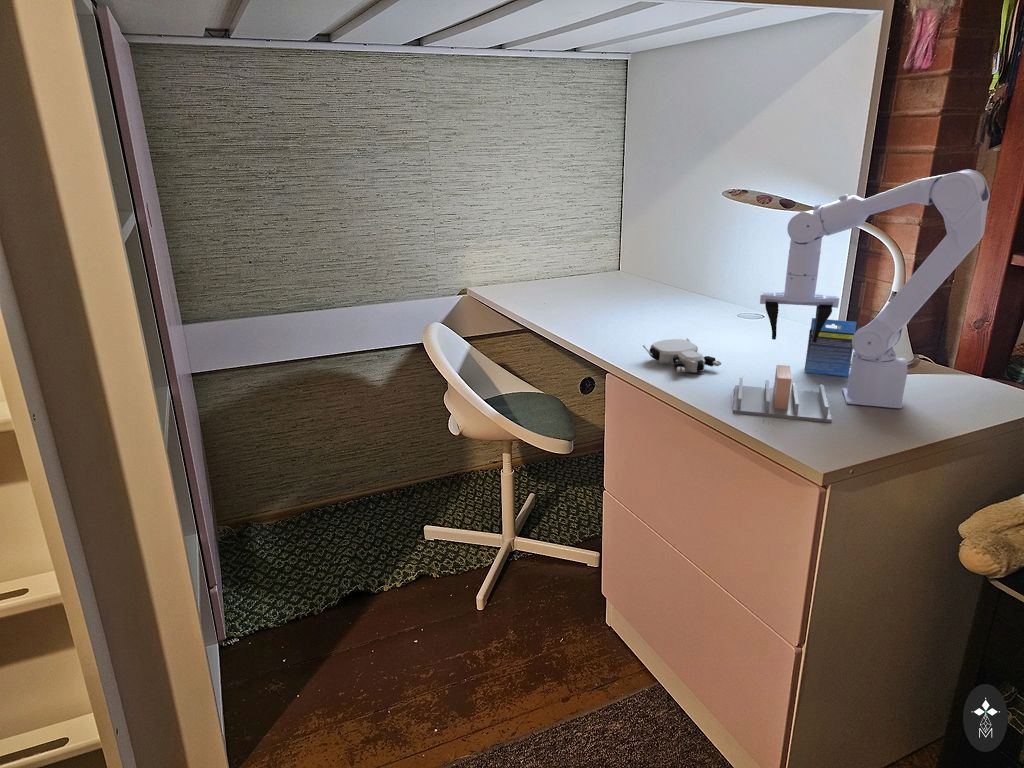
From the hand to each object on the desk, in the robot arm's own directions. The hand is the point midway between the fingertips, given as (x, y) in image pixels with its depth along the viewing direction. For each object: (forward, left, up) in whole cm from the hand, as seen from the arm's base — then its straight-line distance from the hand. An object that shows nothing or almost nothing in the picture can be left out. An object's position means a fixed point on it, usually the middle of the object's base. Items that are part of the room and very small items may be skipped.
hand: (793, 339), depth 141 cm
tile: (+2, +13, -9) cm, 16 cm away
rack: (+2, +13, -9) cm, 16 cm away
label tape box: (-8, -9, -10) cm, 15 cm away
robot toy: (+23, -6, -10) cm, 25 cm away
